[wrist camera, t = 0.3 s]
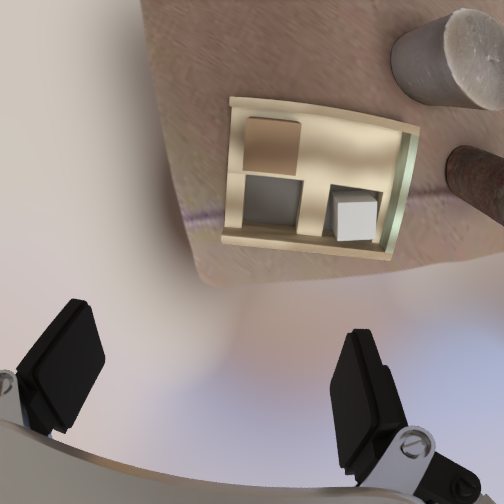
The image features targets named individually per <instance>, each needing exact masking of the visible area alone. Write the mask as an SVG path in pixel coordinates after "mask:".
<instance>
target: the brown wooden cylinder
mask: <svg viewBox="0 0 504 504" xmlns="http://www.w3.org/2000/svg"><path fill="white" fill-rule="evenodd" d="M447 182H448V184H449V186H450V189H451V190H452V191H453V193H454V194H455V195H456V196H458V197H459V198H460V199H462V200H464V201H465V202H467V203H468V204H470V205H472V206H473V207H475V208H476V209H478V210H480V211H481V212H483V213H484V214H486V215H487V216H489V217H490V218H492V219H493V220H495V221H496V222H498V223H499V224H501V225H503V226H504V158H502V157H499V156H497V155H494V154H492V153H489V152H486V151H483V150H480V149H478V148H474V147H470V146H460V147H458V148H456V149H455V150H454V151H453V153H452V154H451V156H450V157H449V159H448V162H447Z"/></svg>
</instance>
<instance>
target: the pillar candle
mask: <svg viewBox="0 0 504 504" xmlns="http://www.w3.org/2000/svg"><path fill="white" fill-rule="evenodd" d="M391 66H392V72H393V75H394V77H395V80H396V82H397V84H398V85H399V86H400V87H401V89H402V90H403V91H404V92H405V93H406V94H407V95H408V96H409V97H411V98H412V99H414V100H416V101H418V102H420V103H422V104H424V105H431V106H452V107H461V108H471V109H480V110H490V111H502V110H504V27H503V26H502V25H501V24H500V23H499V22H498V21H497V20H495V19H494V18H492V17H491V16H489V15H488V14H486V13H484V12H481V11H479V10H475V9H466V8H461V9H460V10H457V11H455V12H453V13H452V14H450V15H447V16H445V17H442V18H440V19H437V20H435V21H433V22H430V23H428V24H426V25H424V26H421V27H419V28H417V29H415V30H413V31H410V32H408V33H406V34H404V35H402V36H401V37H400V38H399V39H398V40H397V41H396V42H395V44H394V45H393V48H392V52H391Z"/></svg>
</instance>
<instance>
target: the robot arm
mask: <svg viewBox="0 0 504 504" xmlns="http://www.w3.org/2000/svg"><path fill="white" fill-rule="evenodd" d="M104 364H105V354H104V351H103V348H102V345H101V341H100V338H99V335H98V331H97V327H96V324H95V320H94V316H93V313H92V309H91V306H89V305H88V303H87V302H86V301H84V300H79V299H71V300H70V301H69V302H68V303H67V305H66V306H65V307H64V308H63V309H62V311H61V312H60V313H59V314H58V315H57V316H56V318H55V319H54V320H53V321H52V323H51V324H50V325H49V326H48V327H47V329H46V330H45V331H44V332H43V334H42V335H41V336H40V338H39V339H38V340H37V341H36V343H35V344H34V345H33V347H32V348H31V349H30V350H29V352H28V353H27V354H26V356H25V357H24V358H23V360H22V361H21V362H20V364H19V365H18V367H17V368H16V370H17V371H18V372H17V373H16V374H14V373H13V372H12V371H10V370H0V504H496V503H495V502H494V501H493V500H492V499H491V498H490V497H489V496H488V495H487V494H485V495H484V496H483V495H482V494H481V484H480V480H479V479H478V477H477V476H476V475H475V474H474V473H472V472H471V471H469V470H467V469H466V468H464V467H462V466H460V465H458V464H457V463H454V462H453V461H451V460H450V459H448V458H446V457H444V456H442V455H441V454H439V453H437V452H435V448H436V447H435V441H434V438H433V436H432V435H431V434H430V433H429V432H428V431H427V430H425V429H424V428H422V427H419V426H408V423H407V420H406V417H405V414H404V410H403V407H402V404H401V401H400V398H399V395H398V392H397V389H396V386H395V383H394V380H393V377H392V374H391V371H390V369H389V368H388V366H387V365H382V362H381V359H380V356H379V353H378V350H377V347H376V345H375V341H374V339H373V336H372V333H371V331H370V330H369V329H354V330H353V331H352V333H348V334H347V336H346V339H345V342H344V345H343V348H342V351H341V354H340V357H339V360H338V363H337V366H336V369H335V372H334V374H333V377H332V380H331V383H330V396H331V403H332V410H333V417H334V424H335V431H336V440H337V448H338V457H339V465H340V467H341V468H345V475H355V480H356V481H357V484H356V485H355V486H354V487H323V488H287V487H260V486H245V485H235V484H226V483H217V482H209V481H203V480H196V479H189V478H184V477H179V476H174V475H169V474H164V473H159V472H155V471H150V470H146V469H142V468H138V467H134V466H131V465H127V464H123V463H120V462H116V461H113V460H110V459H106V458H103V457H100V456H97V455H94V454H91V453H88V452H85V451H83V450H80V449H77V448H74V447H72V446H69V445H66V444H64V443H61V442H59V441H56V440H54V439H53V438H52V435H51V432H52V429H54V430H56V431H59V432H61V433H64V434H66V431H67V429H68V428H71V427H72V426H73V424H74V422H75V420H76V418H77V416H78V414H79V412H80V410H81V408H82V406H83V404H84V402H85V400H86V398H87V396H88V394H89V392H90V390H91V388H92V386H93V385H94V383H95V381H96V379H97V377H98V375H99V373H100V371H101V370H102V368H103V366H104Z"/></svg>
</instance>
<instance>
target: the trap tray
mask: <svg viewBox="0 0 504 504" xmlns="http://www.w3.org/2000/svg"><path fill="white" fill-rule="evenodd" d="M229 106H232V115H231V129H230V143H229V158H228V173H227V190H226V208H225V227H224V229H223V232H222V235H221V244H231V245H241V246H251V247H261V248H271V249H281V250H291V251H301V252H311V253H320V254H330V255H340V256H349V257H359V258H368V259H378V260H387V261H391V257H392V254H393V250H394V247H395V243H396V240H397V236H398V232H399V229H400V225H401V221H402V217H403V213H404V209H405V205H406V200H407V196H408V192H409V187H410V182H411V178H412V173H413V168H414V162H415V157H416V152H417V146H418V140H419V134H420V127H418V126H415V125H411V124H407V123H403V122H399V121H395V120H391V119H387V118H382V117H378V116H373V115H369V114H364V113H359V112H354V111H349V110H343V109H337V108H331V107H325V106H319V105H312V104H305V103H297V102H289V101H280V100H270V99H259V98H246V97H230V101H229ZM250 116H252V117H264V118H274V119H284V120H292V121H298V122H300V123H301V124H302V126H301V135H300V144H299V153H298V161H297V169H296V176H291V175H283V174H273V173H263V172H253V171H242V170H243V157H244V144H245V132H246V119H247V118H248V117H250ZM357 190H366V191H367V192H368V193H369V194H370V195H371V196H372V197H373V198H374V199H375V200H376V201H377V218H376V233H375V239H370V240H351V241H337V239H336V237H335V234H334V232H333V230H332V228H331V191H357Z"/></svg>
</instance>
